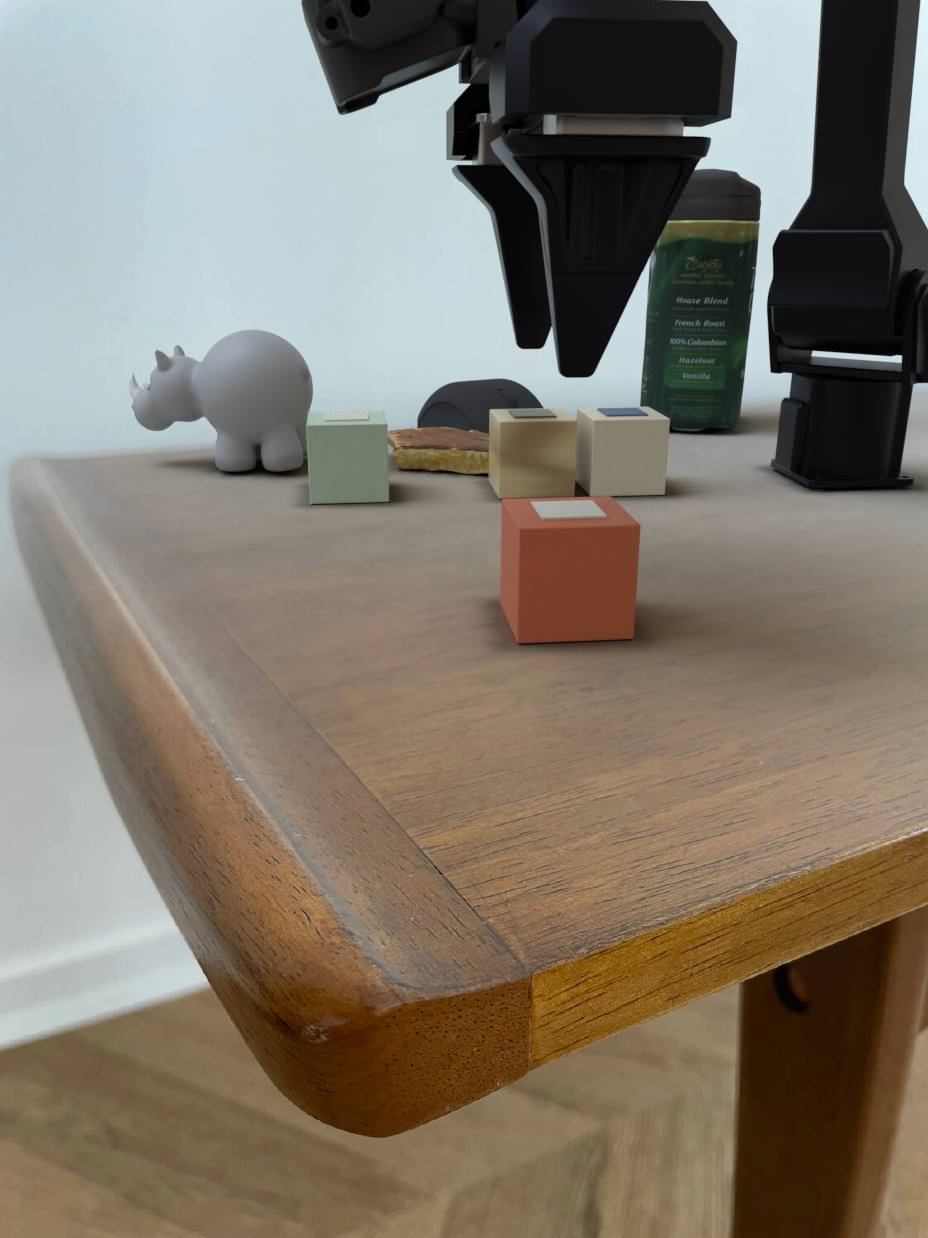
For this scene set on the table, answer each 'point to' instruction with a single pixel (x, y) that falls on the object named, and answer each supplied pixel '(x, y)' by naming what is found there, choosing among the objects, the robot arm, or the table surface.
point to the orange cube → (568, 569)
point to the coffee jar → (702, 303)
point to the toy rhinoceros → (235, 399)
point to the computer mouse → (473, 403)
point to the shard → (441, 449)
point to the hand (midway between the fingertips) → (550, 361)
